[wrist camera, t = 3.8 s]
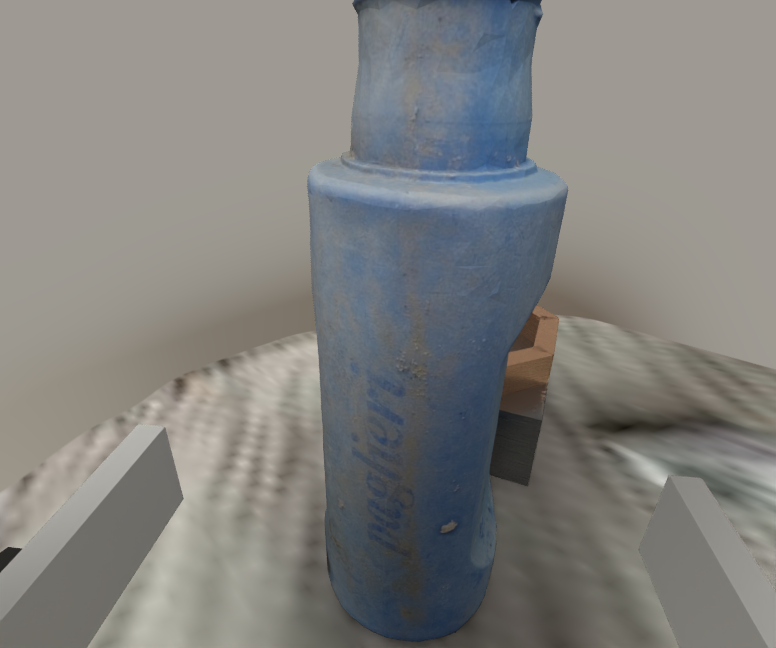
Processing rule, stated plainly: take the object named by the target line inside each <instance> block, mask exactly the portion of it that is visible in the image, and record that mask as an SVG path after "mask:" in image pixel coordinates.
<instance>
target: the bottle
mask: <svg viewBox="0 0 776 648" xmlns="http://www.w3.org/2000/svg"><path fill="white" fill-rule="evenodd" d="M541 1H542V0H354V2H353V3H352V4H353V6H354V8H355V10H356V12H357V14H358V23H359V68H358V75H357V81H356V88H355V95H354V104H353V111H352V121H351V122H352V123H351V148H350V151H348V152H345V153H343V154H342V156H341V157H339V158H334V159H330V160H326V161H322V162H319V163H318V164H316V165H315V166H314V167H313V168H312V169H311V171H310V172H309V176H308V186H307V187H308V197H309V210H310V230H311V234H310V247H311V248H310V249H311V276H312V294H313V301H314V311H315V320H316V330H317V342H318V354H319V370H320V388H321V410H322V422H323V449H324V467H325V481H326V499H327V509H326V513H325V535H326V551H327V565H328V573H329V577H330V581H331V585H332V587H333V589H334V592H335V594H336V596H337V598H338V600H339V602H340V604H341V605H342V607H343V608H344V609H345V610H346V611H347V612H348V613H349V614H350V615H351V616H352V617H353V618H354V619H356V620H357V621H358V622H359V623H360V624H361V625H363V626H364V627H366V628H368V629H369V630H371V631H373V632H375V633H377V634H380V635H382V636H384V637H388V638H393V639H399V640H405V641H417V642H419V641H425V640H430V639H436V638H440V637H443V636H446V635H449V634H451V633H454V632H456V631H457V630H458V629H459V628H461V627H462V626H463V625H464V624H465V623H466V622H467V621H468V620H469V619H470V618H471V616H472V615H473V614H474V613H475V612H476V611H477V609H478V607H479V606H480V604H481V602H482V600H483V598H484V596H485V592H486V589H487V585H488V581H489V577H490V573H491V569H492V565H493V560H494V555H495V549H496V528H497V525H496V520H495V515H494V502H493V496H492V489H491V483H490V475H489V470H490V463H491V457H492V451H493V445H494V439H495V434H496V429H497V422H498V415H499V408H500V402H501V396H502V391H503V385H504V379H505V373H506V368H507V362H508V354H509V351H510V349H511V347H512V346H513V344H514V342H515V341H516V339H517V337H518V335H519V334H520V332H521V330H522V329H523V327H524V325H525V324H526V322H527V320H528V319H529V317H530V315H531V314H532V312H533V310H534V308H535V307H536V305H537V303H538V301H539V300H540V298H541V296H542V294H543V292H544V290H545V288H546V286H547V284H548V282H549V280H550V277H551V272H552V267H553V263H554V258H555V253H556V248H557V243H558V238H559V233H560V228H561V224H562V219H563V214H564V209H565V204H566V198H567V192H568V186H567V185H566V183H565V181H564V180H563V179H562V178H560V177H559V176H558V175H557V174H556V173H554V172H551V171H548V170H545V169H543V168H540V167H537V166H536V163H534V161H532V160H531V159H529V158H527V157H526V155H527V148H528V141H529V134H530V127H531V121H532V89H531V88H532V77H531V65H532V55H533V49H534V43H535V36H536V30H537V27H538V25H539V22H540V20H541V18H542V15H543V13H542V9H541V5H540V3H541Z"/></svg>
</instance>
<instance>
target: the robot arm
mask: <svg viewBox="0 0 776 648" xmlns="http://www.w3.org/2000/svg"><path fill="white" fill-rule="evenodd" d="M183 499H184V498H183V495H182V491H181V487H180V483H179V479H178V475H177V471H176V468H175V464H174V460H173V456H172V452H171V448H170V444H169V440H168V437H167V433H166V429H165V427H164V426H153V425H143V424H138V425H137V426H136V427H135V428H134V430H133V431H132V432H131V433H130V434H129V435H128V436H127V437H126V438H125V439H124V440H123V441H122V442H121V444H120V445H119V446H118V447H117V448H116V449H115V450H114V451H113V452H112V453H111V454H110V455H109V456H108V458H107V459H106V460H105V461H104V462H103V463H102V464H101V465H100V466H99V467H98V468H97V469H96V470H95V471H94V473H93V474H92V475H91V476H90V477H89V478H88V479H87V480H86V481H85V482H84V483H83V484H82V485H81V487H80V488H79V489H78V490H77V491H76V492H75V493H74V494H73V495H72V496H71V497H70V498H69V499H68V501H67V502H66V503H65V504H64V505H63V506H62V507H61V508H60V509H59V510H58V511H57V512H56V513H55V514H54V516H53V517H52V518H51V519H50V520H49V521H48V522H47V523H46V524H45V525H44V526H43V527H42V528H41V530H40V531H39V532H38V533H37V534H36V535H35V536H34V537H33V538H32V539H31V540H30V541H29V542H28V544H27V545H26V546H25V547H24V548H23V549H20V548H12V547H8V548H6V549H5V550H3V551H2V552H1V553H0V648H87V647H88V645H89V644H90V642H91V640H92V639H93V637H94V636H95V634H96V633H97V631H98V630H99V628H100V627H101V625H102V623H103V622H104V620H105V619H106V617H107V616H108V614H109V613H110V611H111V610H112V608H113V607H114V605H115V603H116V602H117V600H118V599H119V597H120V596H121V594H122V593H123V591H124V590H125V588H126V587H127V585H128V583H129V582H130V580H131V579H132V577H133V576H134V574H135V573H136V571H137V570H138V568H139V567H140V565H141V563H142V562H143V560H144V559H145V557H146V556H147V554H148V553H149V551H150V550H151V548H152V546H153V545H154V543H155V542H156V540H157V539H158V537H159V536H160V534H161V533H162V531H163V530H164V528H165V526H166V525H167V523H168V522H169V520H170V519H171V517H172V516H173V514H174V513H175V511H176V510H177V508H178V506H179V505H180V503H181V502H182V500H183ZM639 551H640V554H641V556H642V559H643V561H644V563H645V566H646V568H647V571H648V573H649V575H650V578H651V580H652V583H653V585H654V587H655V590H656V592H657V595H658V597H659V599H660V602H661V604H662V607H663V609H664V611H665V614H666V616H667V619H668V621H669V623H670V626H671V628H672V631H673V633H674V635H675V638H676V640H677V643H678V645H679V647H680V648H776V591H775V589H774V588H773V586H772V585H771V583H770V582H769V580H768V579H767V577H766V575H765V574H764V572H763V571H762V569H761V568H760V566H759V565H758V563H757V562H756V560H755V559H754V557H753V556H752V554H751V553H750V551H749V550H748V548H747V547H746V545H745V543H744V542H743V540H742V539H741V537H740V536H739V534H738V533H737V531H736V530H735V528H734V527H733V525H732V524H731V522H730V521H729V519H728V518H727V516H726V515H725V513H724V512H723V510H722V508H721V507H720V505H719V504H718V502H717V501H716V499H715V498H714V496H713V495H712V493H711V492H710V490H709V489H708V487H707V486H706V484H705V483H704V481H703V480H702V478H694V477H684V476H673V475H669V476H668V478H667V481H666V483H665V486H664V488H663V491H662V493H661V496H660V498H659V500H658V503H657V505H656V508H655V510H654V513H653V515H652V518H651V520H650V523H649V525H648V528H647V530H646V533H645V535H644V537H643V540H642V542H641V545H640V547H639Z"/></svg>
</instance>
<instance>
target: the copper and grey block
mask: <svg viewBox="0 0 776 648" xmlns="http://www.w3.org/2000/svg"><path fill="white" fill-rule="evenodd" d="M558 323H559V319H558V317H557V316H555V315H553V314H552V313H550V312H548V311H547V310H545V309H543V308H541V307H540V306H538V305H536V307H535V308H534V310H533V312H532V314H531V315H530V317H529V319H528V320H527V322H526V324H525V325H524V327H523V329H522V330H521V332H520V334H519V335H518V337H517V339H516V341H515V342H514V344H513V346H512V347H511V349H510V351H509V354H508V362H507V368H506V373H505V379H504V385H503V391H502V396H501V402H500V408H499V415H498V422H497V429H496V434H495V439H494V445H493V451H492V457H491V463H490V470H489V475H493V476H496V477H500V478H503V479H506V480H510V481H513V482H517V483H520V484H524V485H527V486H528V482H529V478H530V473H531V468H532V464H533V459H534V455H535V450H536V445H537V441H538V436H539V432H540V427H541V423H542V417H543V411H544V404H545V398H546V391H547V385H548V379H549V375H550V370H551V366H552V361H553V356H554V350H555V344H556V337H557V330H558Z"/></svg>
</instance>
